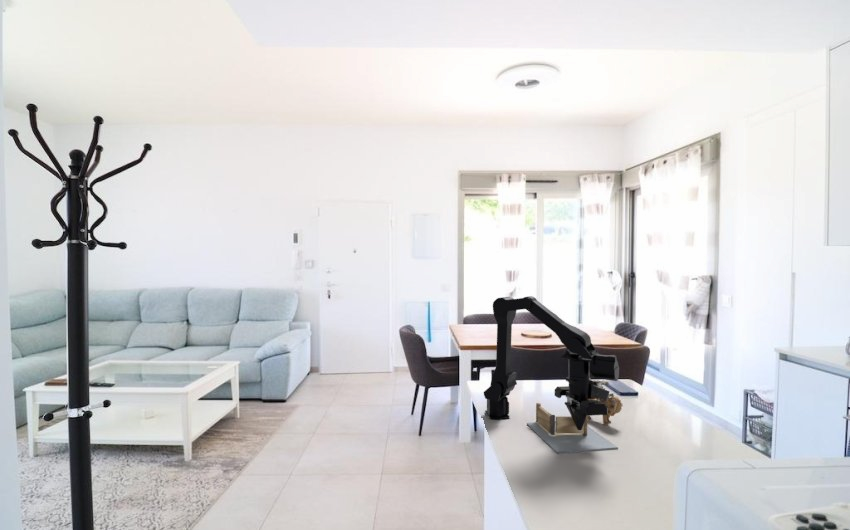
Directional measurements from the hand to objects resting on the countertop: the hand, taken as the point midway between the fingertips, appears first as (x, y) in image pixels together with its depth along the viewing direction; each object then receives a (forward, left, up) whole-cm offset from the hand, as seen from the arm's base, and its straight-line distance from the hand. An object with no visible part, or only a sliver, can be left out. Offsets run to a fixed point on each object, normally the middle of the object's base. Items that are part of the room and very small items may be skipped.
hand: (579, 429), depth 110 cm
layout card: (-2, +3, -3) cm, 4 cm away
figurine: (+25, +34, -3) cm, 42 cm away
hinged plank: (-1, +2, -2) cm, 3 cm away
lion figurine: (+15, +12, -3) cm, 19 cm away
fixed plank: (-7, +8, -3) cm, 11 cm away
